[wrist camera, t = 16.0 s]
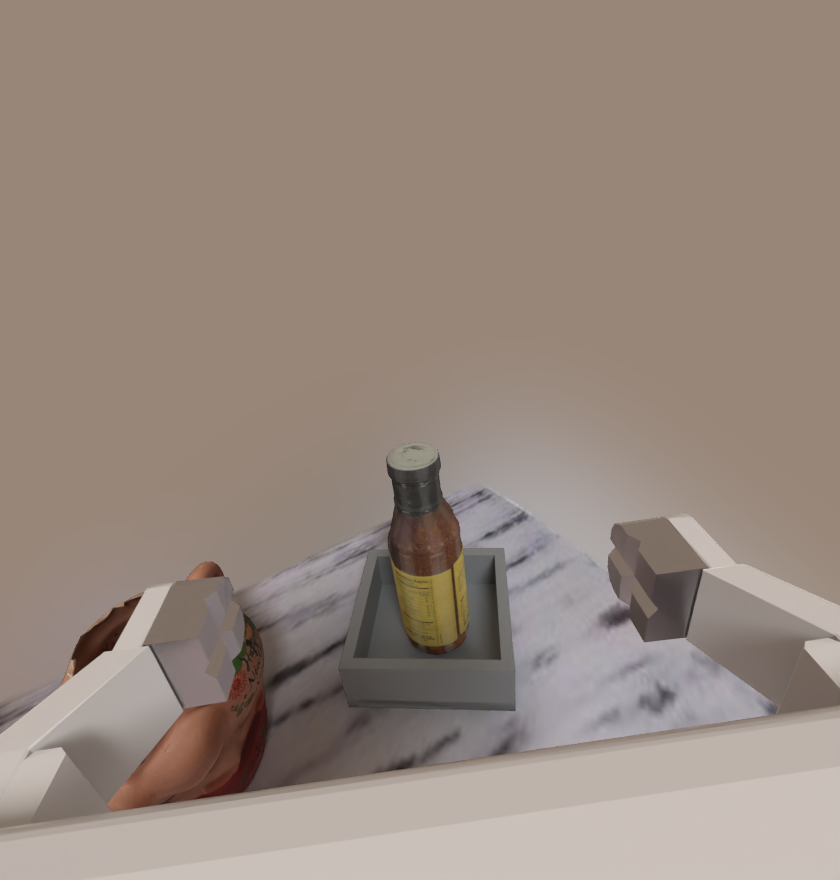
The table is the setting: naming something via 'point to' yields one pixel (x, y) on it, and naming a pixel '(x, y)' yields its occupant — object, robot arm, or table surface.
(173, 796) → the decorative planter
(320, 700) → the table surface
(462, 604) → the sauce bottle
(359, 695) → the tray
